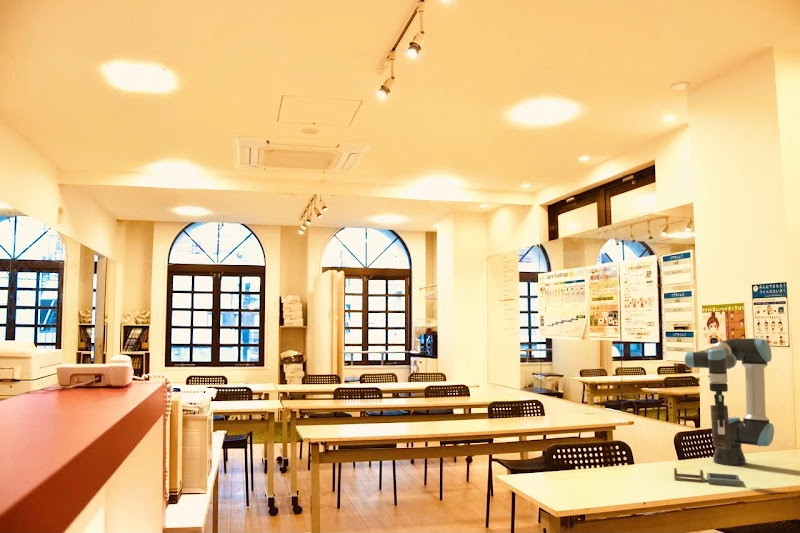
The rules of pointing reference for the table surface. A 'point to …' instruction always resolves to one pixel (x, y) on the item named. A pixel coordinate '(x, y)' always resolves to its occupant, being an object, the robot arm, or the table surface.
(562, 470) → the table surface
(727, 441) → the dark brown tall block
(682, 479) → the cradle
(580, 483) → the table surface
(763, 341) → the robot arm
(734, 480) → the tray
